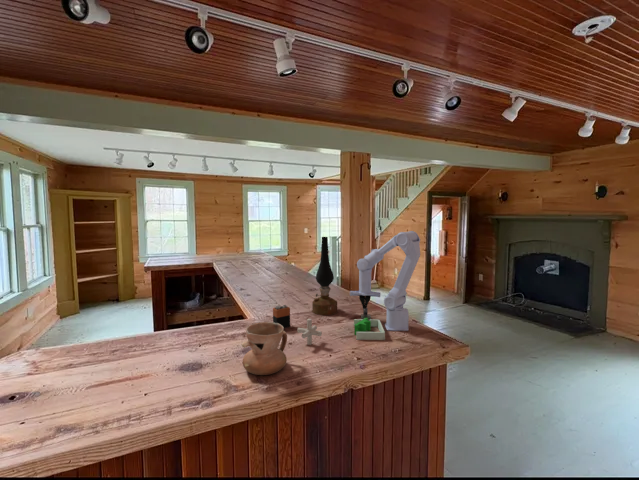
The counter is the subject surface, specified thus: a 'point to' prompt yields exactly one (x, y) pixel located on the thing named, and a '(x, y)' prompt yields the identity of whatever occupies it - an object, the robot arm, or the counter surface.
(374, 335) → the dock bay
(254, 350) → the ceramic jug
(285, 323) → the battery
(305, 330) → the pipe connector
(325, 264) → the oil lamp
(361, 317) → the pin mount
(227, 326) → the counter surface
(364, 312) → the pin
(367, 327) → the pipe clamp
